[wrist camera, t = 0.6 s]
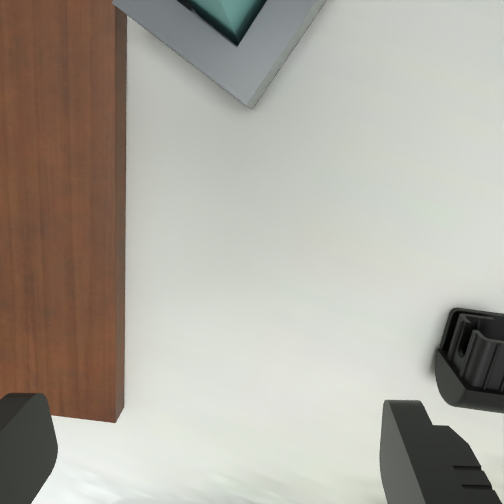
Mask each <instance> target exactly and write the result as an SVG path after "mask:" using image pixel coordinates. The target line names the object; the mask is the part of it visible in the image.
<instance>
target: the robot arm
mask: <svg viewBox="0 0 504 504" xmlns="http://www.w3.org/2000/svg"><path fill="white" fill-rule="evenodd" d="M57 453H58V445H57V439H56V435H55V431H54V426H53V422H52V418H51V413H50V409H49V404H48V401H47V398H46V396H45V395H44V394H42V393H8V394H6V395H5V396H4V397H3V398H2V399H1V400H0V504H31V503H32V501H33V500H34V498H35V497H36V495H37V494H38V492H39V491H40V489H41V487H42V486H43V484H44V483H45V481H46V480H47V478H48V477H49V475H50V474H51V472H52V470H53V468H54V465H55V462H56V459H57ZM380 472H381V479H382V484H383V488H384V492H385V495H386V499H387V503H388V504H502V503H501V501H500V499H499V497H498V496H497V494H496V492H495V490H492V485H491V483H490V481H489V480H488V478H487V476H486V474H485V472H484V471H482V470H481V465H480V464H479V462H478V460H477V458H476V456H475V455H474V453H473V451H472V449H471V448H470V446H469V444H468V443H467V442H466V441H465V440H463V439H462V438H461V437H460V436H459V435H458V434H457V433H456V432H455V431H454V430H452V429H451V428H450V427H449V426H438V425H432V422H431V420H430V418H429V416H428V414H427V412H426V410H425V408H424V406H423V404H422V403H421V401H419V400H385V401H384V404H383V414H382V428H381V441H380Z"/></svg>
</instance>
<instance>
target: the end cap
mask: <svg viewBox="0 0 504 504" xmlns="http://www.w3.org/2000/svg"><path fill="white" fill-rule="evenodd" d="M435 373H436V381H437V386H438V389H439V392H440V394H441V396H442V398H443V399H444V400H445V402H446V403H448V404H449V405H451V406H454V407H461V408H468V409H475V410H483V411H490V412H497V413H504V314H499V313H492V312H484V311H477V310H470V309H462V308H454V309H452V310H451V312H450V313H449V317H448V320H447V323H446V327H445V330H444V334H443V337H442V340H441V344H440V349H438V351H437V355H436V364H435Z"/></svg>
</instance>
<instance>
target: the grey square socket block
mask: <svg viewBox="0 0 504 504" xmlns="http://www.w3.org/2000/svg"><path fill="white" fill-rule="evenodd" d="M325 2H326V0H267V1H266V3H265V4H264V6H263V8H262V9H261V11H260V12H259V14H258V15H257V17H256V18H255V20H254V22H253V23H252V25H251V26H250V28H249V29H248V31H247V33H246V34H245V36H244V37H243V39H242V40H241V42H240V43H239V45H238V46H237V45H236V44H234V43H233V42H232V41H231V40H229V39H228V38H227V37H226V36H224V35H223V34H222V33H220V32H219V31H218V30H217V29H215V28H214V27H213V26H212V25H210V24H209V23H208V22H206V21H205V20H204V19H203V18H201V17H200V16H199V15H198V14H197V13H196V11H195V10H194V8H193V7H192V6H191V4H190V3H189V1H188V0H113V2H112V4H114V5H115V6H116V7H118V8H119V9H120V10H122V11H123V12H124V13H125V14H127V15H128V16H129V17H131V18H132V19H133V20H135V21H136V22H137V23H139V24H140V25H141V26H142V27H144V28H145V29H146V30H148V31H149V32H150V33H152V34H153V35H154V36H155V37H157V38H158V39H159V40H161V41H162V42H163V43H165V44H166V45H167V46H169V47H170V48H171V49H172V50H174V51H175V52H176V53H178V54H179V55H180V56H182V57H183V58H184V59H186V60H187V61H188V62H189V63H191V64H192V65H193V66H195V67H196V68H197V69H199V70H200V71H201V72H203V73H204V74H205V75H206V76H208V77H209V78H210V79H212V80H213V81H214V82H216V83H217V84H218V85H220V86H221V87H222V88H223V89H225V90H226V91H227V92H229V93H230V94H231V95H233V96H234V97H235V98H237V99H238V100H239V101H240V102H242V103H243V104H244V105H246V106H247V107H249V108H250V109H253V107H254V106H255V104H256V103H257V102H258V100H259V99H260V97H261V96H262V94H263V93H264V91H265V90H266V88H267V87H268V85H269V84H270V82H271V81H272V80H273V78H274V77H275V75H276V74H277V72H278V71H279V69H280V68H281V66H282V65H283V63H284V62H285V60H286V59H287V58H288V56H289V55H290V53H291V52H292V50H293V49H294V47H295V46H296V44H297V43H298V41H299V40H300V38H301V37H302V36H303V34H304V33H305V31H306V30H307V28H308V27H309V25H310V24H311V22H312V21H313V19H314V18H315V17H316V15H317V14H318V12H319V11H320V9H321V8H322V6H323V5H324V3H325Z"/></svg>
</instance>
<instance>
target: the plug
mask: <svg viewBox="0 0 504 504" xmlns="http://www.w3.org/2000/svg"><path fill="white" fill-rule="evenodd" d="M188 1H189V3H190V4H191V6H192V7H193V8H194V10H195V11H196V13H197V14H198V15H199V16H200V17H201V18H203V19H204V20H205V21H206V22H208V23H209V24H210V25H212V26H213V27H214V28H215V29H217V30H218V31H219V32H220V33H222V34H223V35H224V36H226V37H227V38H228V39H229V40H231V41H232V42H233V43H234V44H236V45H237V46H238V45H239V43H240V42H241V40H242V39H243V37H244V36H245V34H246V33H247V31H248V29H249V28H250V26H251V25H252V23H253V22H254V20H255V18H256V17H257V15H258V14H259V12H260V11H261V9H262V8H263V6H264V4H265V3H266V1H267V0H188Z"/></svg>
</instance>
